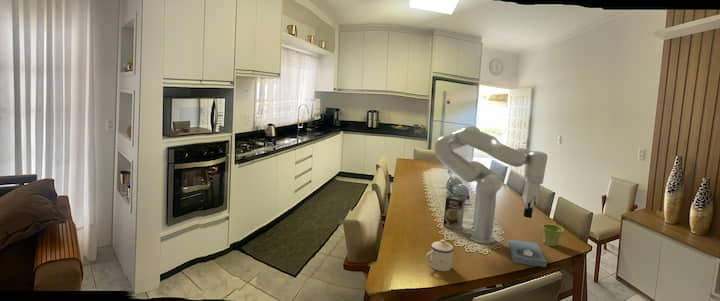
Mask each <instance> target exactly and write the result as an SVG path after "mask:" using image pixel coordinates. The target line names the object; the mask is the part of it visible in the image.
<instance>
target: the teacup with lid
mask: <svg viewBox="0 0 720 301" xmlns="http://www.w3.org/2000/svg"><path fill="white" fill-rule="evenodd" d="M430 247H431V251H429V252H427V253H426V255H425V260H426V262H427V263H429V265H430V267H431V268H432V269H433V270H435V271H439V272H447V271H448V272H449V271H450V270H451V269H452V264H453V254H454V246H453V245H452V244H451V243H449V242H446V239H441V240H439V241H433V243H431V246H430ZM429 256H430V260H429Z"/></svg>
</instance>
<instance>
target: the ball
mask: <svg viewBox="0 0 720 301" xmlns="http://www.w3.org/2000/svg"><path fill="white" fill-rule="evenodd" d="M522 254H523V255H526V256H531V257H532V256H533V253H532V251H530V250H524V251H523V253H522Z"/></svg>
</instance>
